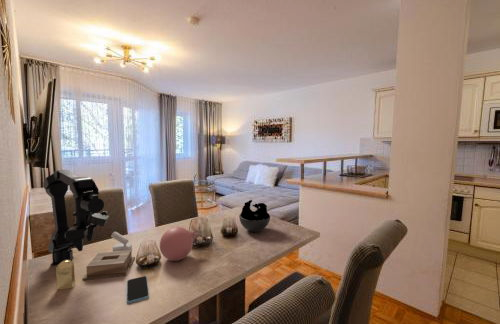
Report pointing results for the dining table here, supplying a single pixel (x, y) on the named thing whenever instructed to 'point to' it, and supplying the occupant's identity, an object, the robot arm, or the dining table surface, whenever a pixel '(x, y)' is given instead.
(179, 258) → the pink rounded piece
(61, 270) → the brass bracket
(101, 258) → the taupe square box
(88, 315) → the dining table surface
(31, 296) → the dining table surface
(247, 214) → the bowl of black rocks
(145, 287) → the smartphone
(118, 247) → the white spotlight lamp
